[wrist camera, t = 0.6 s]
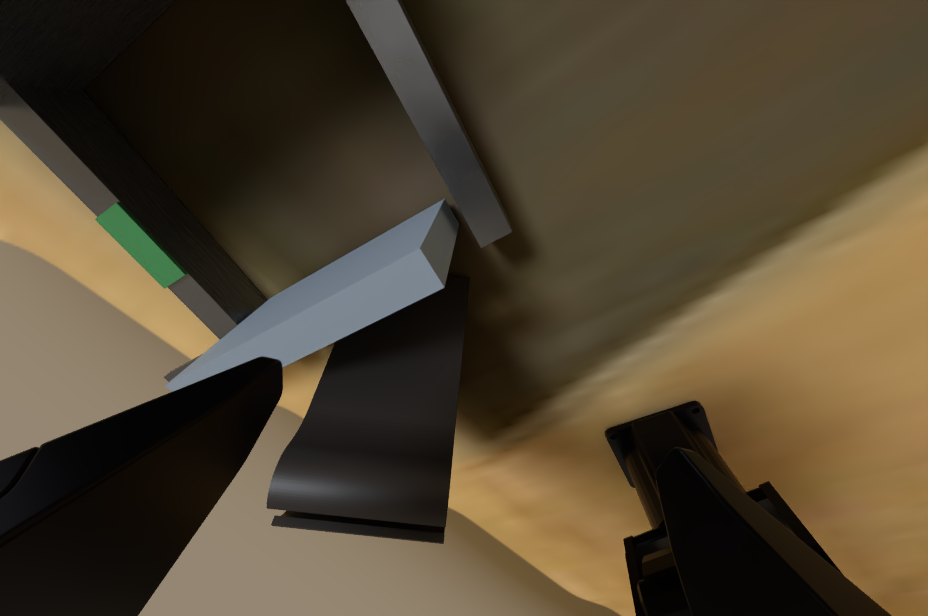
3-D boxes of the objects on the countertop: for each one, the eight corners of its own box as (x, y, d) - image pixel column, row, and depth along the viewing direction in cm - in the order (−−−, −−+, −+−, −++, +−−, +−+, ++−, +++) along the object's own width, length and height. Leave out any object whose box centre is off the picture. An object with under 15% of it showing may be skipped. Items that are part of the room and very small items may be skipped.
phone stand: (456, 395, 25) (436, 601, 14) (370, 385, 25) (285, 585, 14) (470, 276, 20) (458, 442, 10) (367, 264, 20) (242, 418, 10)
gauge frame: (508, 216, 19) (526, 286, 11) (274, 339, 23) (165, 453, 15) (272, -263, 12) (-165, -1060, 4) (2, 42, 16) (-462, -34, 8)
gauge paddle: (459, 224, 19) (444, 287, 11) (220, 353, 23) (105, 454, 16) (444, 198, 18) (419, 248, 11) (202, 336, 23) (75, 433, 16)
